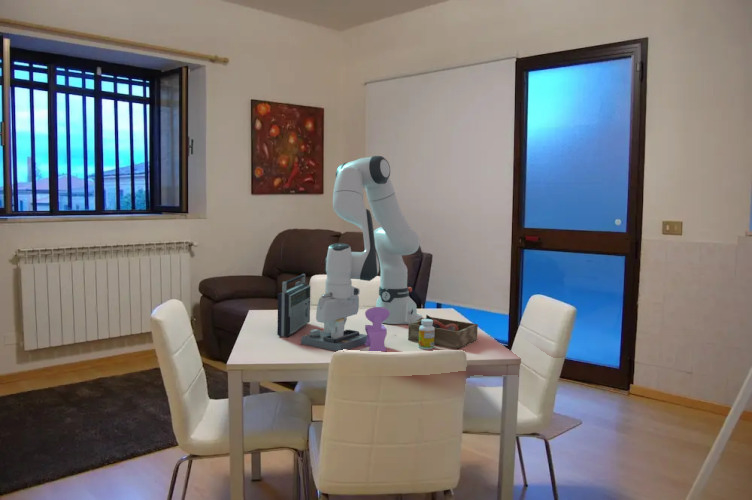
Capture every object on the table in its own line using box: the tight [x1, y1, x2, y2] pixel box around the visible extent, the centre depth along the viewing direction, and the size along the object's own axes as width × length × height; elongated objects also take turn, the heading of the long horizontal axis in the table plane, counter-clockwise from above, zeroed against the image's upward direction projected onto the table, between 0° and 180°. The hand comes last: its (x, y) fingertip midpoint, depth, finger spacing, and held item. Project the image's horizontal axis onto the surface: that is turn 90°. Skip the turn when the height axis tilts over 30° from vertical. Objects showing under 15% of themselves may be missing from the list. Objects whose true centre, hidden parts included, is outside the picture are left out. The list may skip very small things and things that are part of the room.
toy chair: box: [364, 306, 390, 351], centre depth 205 cm, size 8×9×15 cm
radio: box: [276, 273, 311, 338], centre depth 228 cm, size 24×5×20 cm, turn 168°
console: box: [300, 322, 367, 352], centre depth 211 cm, size 17×17×8 cm
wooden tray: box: [407, 316, 479, 350], centre depth 220 cm, size 16×20×6 cm
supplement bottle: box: [418, 318, 435, 350], centre depth 209 cm, size 5×5×10 cm
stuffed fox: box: [425, 314, 462, 331], centre depth 221 cm, size 8×11×12 cm
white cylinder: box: [331, 318, 345, 339], centre depth 207 cm, size 3×3×7 cm
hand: (337, 331), depth 207 cm, fingers closed on white cylinder, 3 cm apart
